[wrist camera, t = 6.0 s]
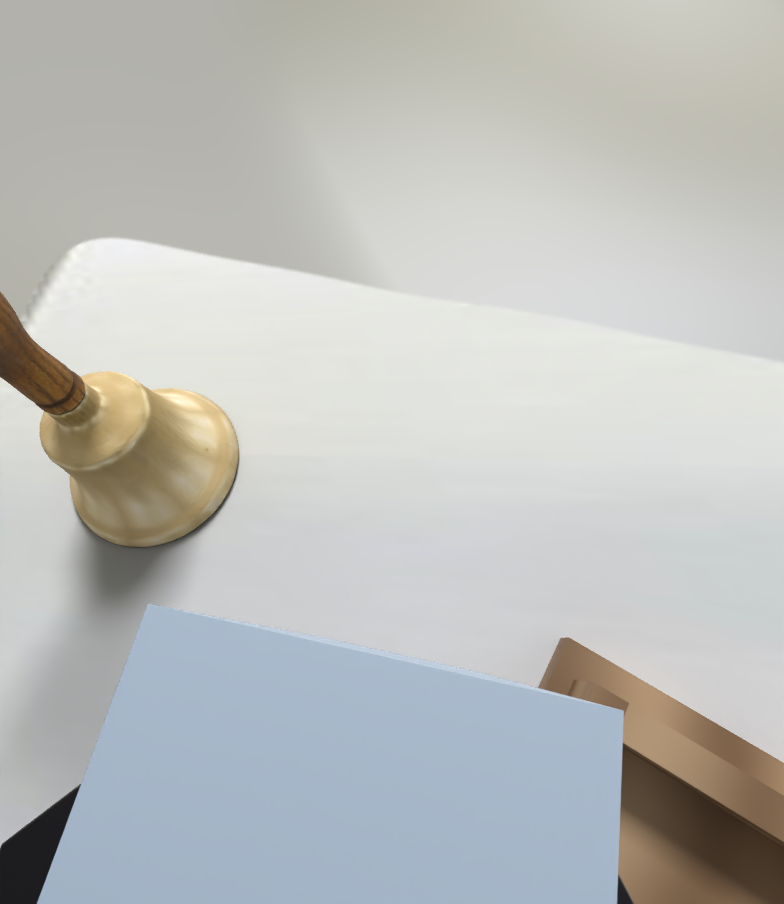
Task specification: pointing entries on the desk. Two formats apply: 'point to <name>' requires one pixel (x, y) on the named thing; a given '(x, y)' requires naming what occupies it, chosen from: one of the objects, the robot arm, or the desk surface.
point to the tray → (683, 793)
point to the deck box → (335, 779)
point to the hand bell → (124, 443)
